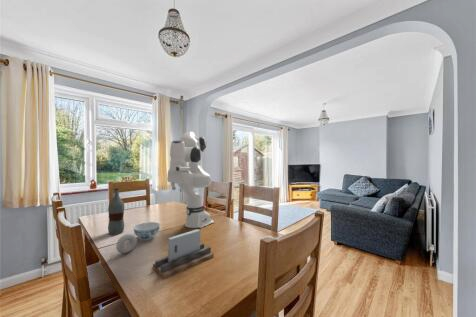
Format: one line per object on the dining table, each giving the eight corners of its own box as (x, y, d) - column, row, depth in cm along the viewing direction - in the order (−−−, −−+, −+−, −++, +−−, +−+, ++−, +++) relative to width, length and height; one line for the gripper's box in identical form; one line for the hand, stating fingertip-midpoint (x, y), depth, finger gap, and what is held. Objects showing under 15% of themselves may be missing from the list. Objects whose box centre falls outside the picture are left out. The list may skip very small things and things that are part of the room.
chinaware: (149, 244, 114) (149, 231, 114) (127, 242, 117) (127, 229, 117) (164, 234, 129) (164, 223, 129) (144, 232, 132) (144, 221, 132)
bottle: (123, 229, 138) (124, 187, 139) (124, 233, 131) (124, 188, 131) (108, 232, 133) (108, 188, 133) (107, 236, 126) (108, 189, 126)
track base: (200, 248, 109) (200, 241, 109) (213, 256, 100) (213, 248, 101) (152, 267, 90) (152, 258, 90) (164, 278, 82) (164, 269, 82)
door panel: (197, 252, 102) (197, 229, 102) (200, 254, 100) (200, 230, 100) (168, 263, 91) (168, 238, 91) (171, 266, 88) (171, 239, 88)
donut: (117, 257, 99) (117, 237, 99) (115, 255, 101) (115, 236, 101) (137, 250, 107) (137, 232, 107) (134, 248, 109) (135, 230, 109)
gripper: (164, 167, 121) (164, 189, 121) (181, 168, 107) (181, 193, 107) (174, 166, 126) (174, 188, 126) (191, 168, 112) (191, 192, 112)
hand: (177, 190), depth 116 cm, fingers open, 8 cm apart
